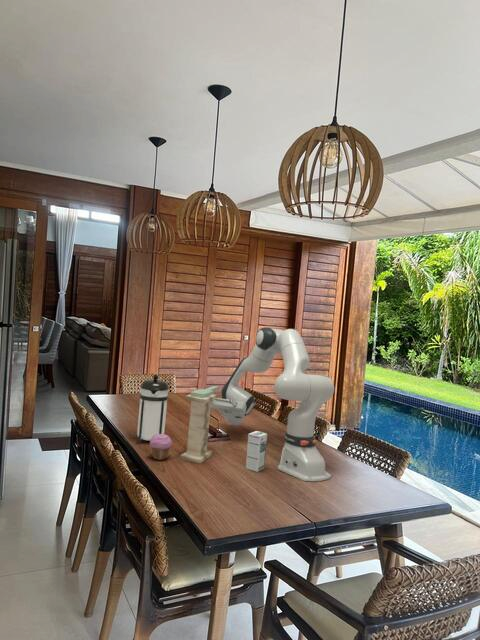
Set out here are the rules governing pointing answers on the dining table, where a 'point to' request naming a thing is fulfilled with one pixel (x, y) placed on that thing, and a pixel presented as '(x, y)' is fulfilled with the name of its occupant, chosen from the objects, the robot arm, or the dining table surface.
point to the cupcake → (160, 446)
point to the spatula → (204, 392)
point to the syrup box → (256, 451)
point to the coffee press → (152, 408)
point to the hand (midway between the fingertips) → (221, 398)
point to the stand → (198, 429)
